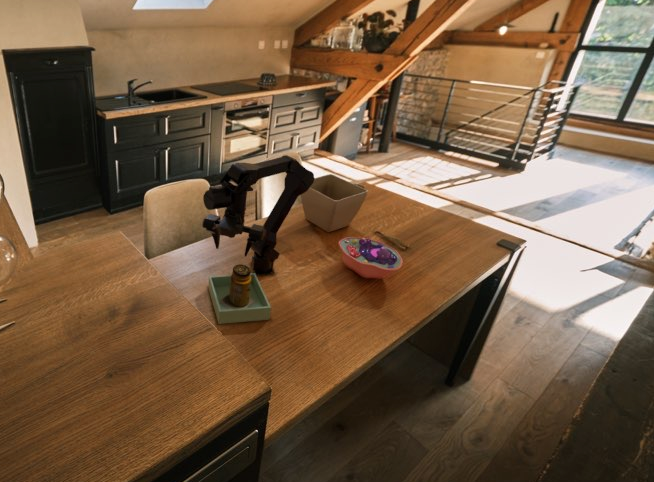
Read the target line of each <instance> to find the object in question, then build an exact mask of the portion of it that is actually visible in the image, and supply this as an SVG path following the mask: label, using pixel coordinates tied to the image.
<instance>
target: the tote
mask: <svg viewBox="0 0 654 482" xmlns="http://www.w3.org/2000/svg"><path fill="white" fill-rule="evenodd" d="M231 275H232V274H226V275H209V276H208V286H207V287H208V291H209V295H210V298H211V302H212V306H213V309H214V312H215V316H216V320H217V322H218V325H221V324H234V323H245V322H257V321H269V320H270V318H271V313H272V312H271V311H272V306H271V304H270V302H269V300H268V297H267V296H266V293H265V291H264V290H263V288H262V285H261V283H260V280H259V279H258V277H257V276H258V275H256V273H255V272H254V273H252V272H251V273H250V275H251V285H250V295H249V298H251V299H253V300H254V302H253V303H252V304H251V305H249V306H248V307H247V308H241V309H228V308H227V307H225V306H224V305H223V304H222V303H221V302H219V300H221V299H223V298H224V297H225V296H227V295H228V294H230V282H231Z"/></svg>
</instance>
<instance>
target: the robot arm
mask: <svg viewBox="0 0 654 482" xmlns="http://www.w3.org/2000/svg"><path fill="white" fill-rule="evenodd" d="M283 173H285V174H286V175H285V177H284V187H283V190H282V192H281V194H280V195H279V197H278V199H277V201H276V203H275V204H274V206H273V207H272V209H271V211H270V212H269V215H268V216H267V218H266V220H265V222H264V223H263V225H261V224H256V223H253V224H252V226H248V225H245V221H246V220H245V216H246V211H247V207H246V206H247V198H248V192H253V191H254V188H253V186H254V185H256V184H257V183H258V181H259V180H261V179H265V178H268V177H271V176H275V175H279V174H283ZM315 178H316V177H315V174H314V172H313V171H311V170H309V169H307V168H306V167H305V166H303V165H302V164H301V163H300V162H299V161H298V160H297V159H296V158H295V157H292V156H289V155H287V154H283V155H282V156H280V157H276V158H271V159H268V160H263V161H260V162H256V163H250V162H235V163H233V164H231V165H230V167H229V168H228V170H227V171H226V172H225V174H224V175H223V176H222V177H221V179H220V180H219V181H218V184H219V185H210V186H209V188H208V190H205V192H204V194H203V197H202V200H203V205H204V207H205V208H206V209H207V210H208V211H212V210H220V209H224V214H223V216H222V218H221V216H220V215H217V214H212V213H209V214H207V216H206V217H204V218H203V220H202V224H201V225H202V228H203V229H205V230H206V231H208V232H209V233H210V234H211V236H212V238H213V242H214V246H215V250H219V247H220V242H221V240H220V239H221V236H224V237H227V238H229V239H233V238H235V237H236V235H242V234H243V233H245V234H248V235H247V236H248V237H247V239H246V246H245V250H244V257H247V256H248V254H249V252H250V250H251V251H253V255H252V256H251V263H250V266H251V268H252V270H253V272H254V273H255V274H256V276H260V275H261V276H264V275H266V276H267V275H275V270H274V264H275V261H276V260H278V259H279V256H280V255H281V254H280V252H278V251H277V250H276V249H275V248H276V246H277V242H278V241H277V239H278V237H277V234H278V232H279V230H280V229H281V227H282V225H283V223H284V222H285V220H286V218H287V217H288V215H289V213H290V211H291V210H292V208H293V206H294V205H295V203H296V201H297V199H298V197H300V196H301V194H303V193H305V192H306V191H307V190H308V189H309V188H310V186H311V185H312V184H313V182H314V179H315ZM230 181H231V182H230ZM233 183H234V184H233ZM235 184H236V185H235Z"/></svg>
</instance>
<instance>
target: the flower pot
mask: <svg viewBox="0 0 654 482" xmlns="http://www.w3.org/2000/svg"><path fill="white" fill-rule="evenodd" d="M314 178H315V179H314V182H313V184H312V185H311V186H310V188H309V189H308V190H307V191H306V192H305V193H303V194H301V195H300V199H301V205H302V210H303V213H304V217H305V219H306V221H309V222H310V223H312V224H313V225H315V226H317V227H318V228H319V229H321V230H323V231H324V232H327V233H331V232H333V231H337V230H340V229H342V228H345V227H348V226H350V224H351V223H352V222H353V221H354V219H355V218H356V216H357V214H358V213H359V211H360V210H361V208H362V205H363V204H364V203H365V202H364V201H365V200H366V197H367V196H368V193H369V190H368V189H366V188H364V187H362V186H360V185H357V184H355V183H353V182H350V181H348V180H346V179H344V178H341V177H339V176H337V175H335V174H331V173H329V174H324V175H322V176H321V175H320V176H318V177H314Z"/></svg>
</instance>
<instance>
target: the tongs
mask: <svg viewBox="0 0 654 482" xmlns="http://www.w3.org/2000/svg"><path fill="white" fill-rule="evenodd" d="M374 233H375V234H378V235H379V236H382V237H383V238H385V239H387V241H390V242H391V243H392V244H393V245H396V246H397V247H399V248H400V249H402V250H404V251H405V250H406V248H407V249H408V248H409V247H410V245H409V243H405V242H404V241H402V240H400V239H399V238H397V237H394V236H390V235H387V234H384V233H382V232H380V231H378V230H375V231H374ZM401 244H402V245H403V246H402V245H401Z"/></svg>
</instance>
